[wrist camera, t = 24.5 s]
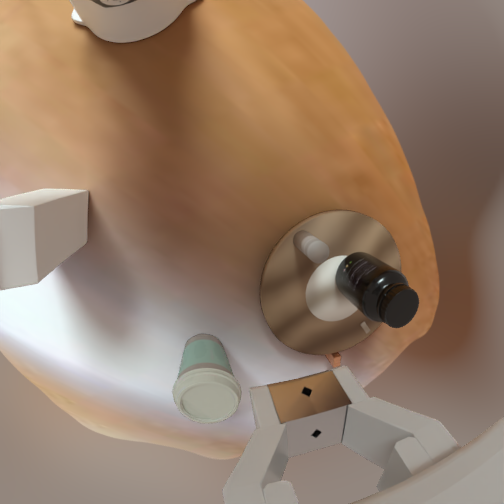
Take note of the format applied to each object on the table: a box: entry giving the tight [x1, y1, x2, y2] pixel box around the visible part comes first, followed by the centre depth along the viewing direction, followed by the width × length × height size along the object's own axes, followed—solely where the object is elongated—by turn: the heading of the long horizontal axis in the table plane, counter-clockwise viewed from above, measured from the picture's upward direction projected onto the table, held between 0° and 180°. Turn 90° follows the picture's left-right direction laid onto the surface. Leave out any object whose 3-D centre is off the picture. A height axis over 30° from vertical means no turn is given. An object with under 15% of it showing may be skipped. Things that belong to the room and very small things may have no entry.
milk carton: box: [0, 189, 89, 290], centre depth 26 cm, size 7×7×19 cm
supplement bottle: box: [335, 252, 419, 328], centre depth 36 cm, size 7×7×12 cm
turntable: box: [260, 210, 401, 355], centre depth 40 cm, size 22×22×8 cm
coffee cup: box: [173, 334, 241, 424], centre depth 39 cm, size 8×8×12 cm
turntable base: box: [325, 352, 341, 368], centre depth 43 cm, size 22×18×4 cm
